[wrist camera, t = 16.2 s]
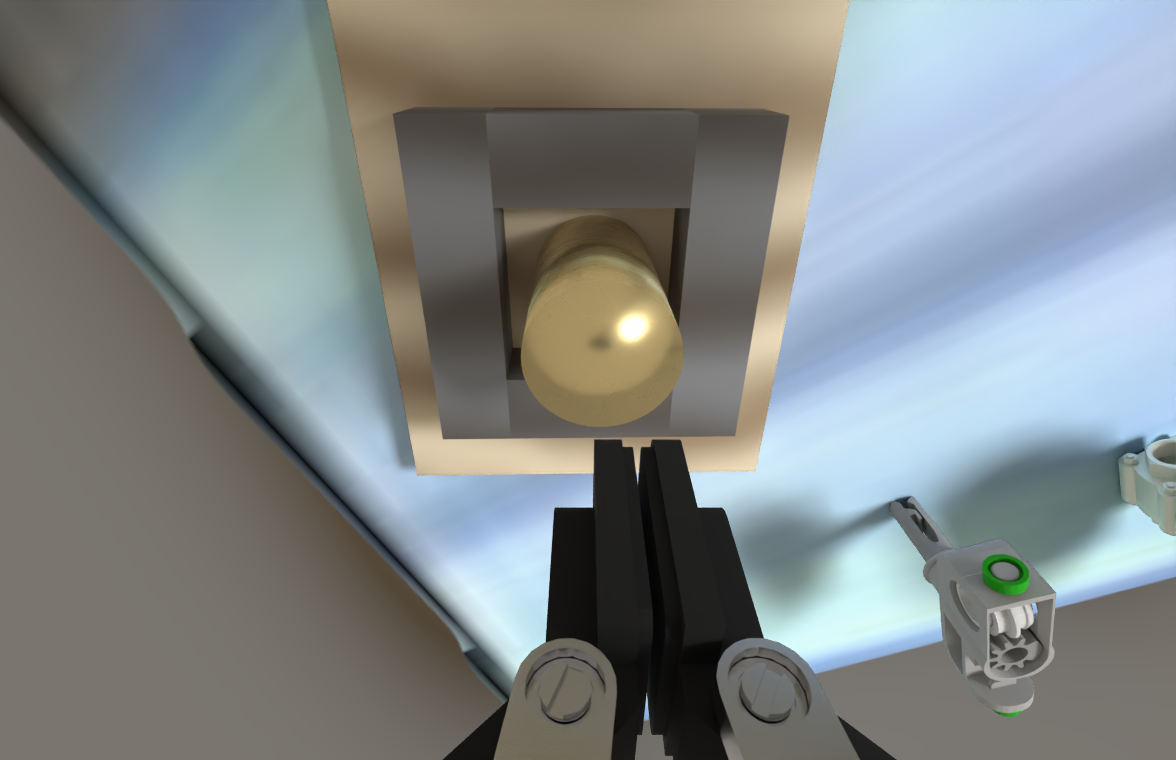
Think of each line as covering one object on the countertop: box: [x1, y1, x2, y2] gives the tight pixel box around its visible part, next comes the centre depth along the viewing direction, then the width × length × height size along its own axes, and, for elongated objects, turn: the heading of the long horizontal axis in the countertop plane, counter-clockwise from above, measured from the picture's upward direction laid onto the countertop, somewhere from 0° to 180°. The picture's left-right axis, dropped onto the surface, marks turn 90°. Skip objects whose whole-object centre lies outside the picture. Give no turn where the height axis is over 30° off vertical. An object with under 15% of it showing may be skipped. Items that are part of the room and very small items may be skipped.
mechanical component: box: [890, 496, 1056, 717], centre depth 29 cm, size 3×10×10 cm, turn 21°
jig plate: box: [327, 0, 850, 475], centre depth 23 cm, size 22×18×4 cm
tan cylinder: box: [521, 215, 684, 427], centre depth 20 cm, size 5×5×8 cm
